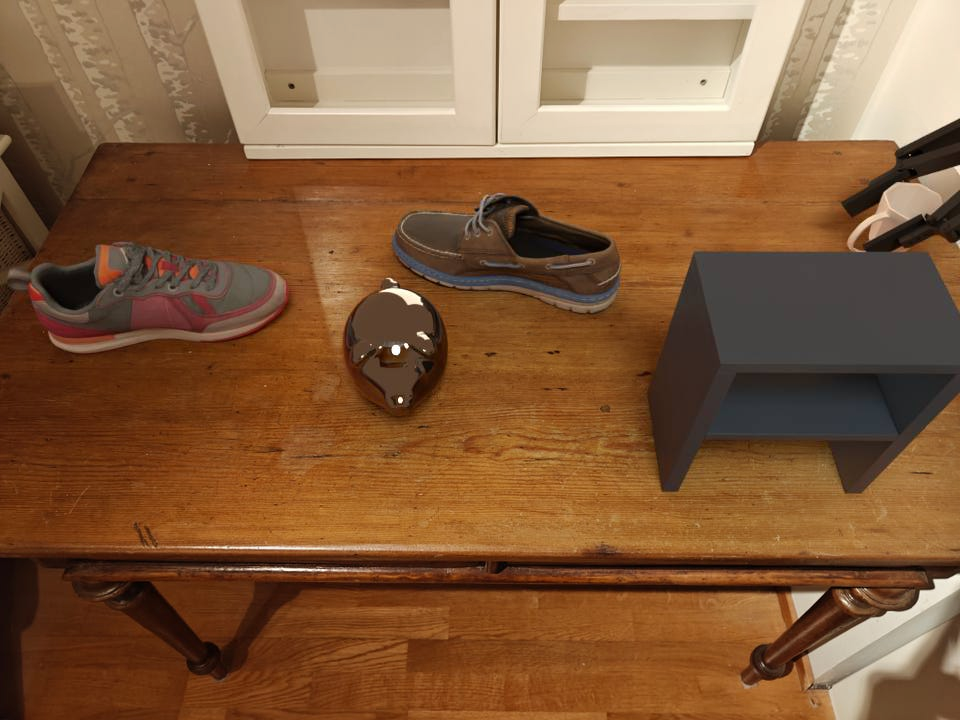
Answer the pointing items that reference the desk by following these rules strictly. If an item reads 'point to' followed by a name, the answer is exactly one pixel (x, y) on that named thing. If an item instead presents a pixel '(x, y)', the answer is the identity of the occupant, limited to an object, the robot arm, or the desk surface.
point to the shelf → (805, 356)
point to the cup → (898, 210)
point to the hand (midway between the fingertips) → (857, 230)
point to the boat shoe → (512, 253)
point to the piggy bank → (395, 347)
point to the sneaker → (148, 298)
